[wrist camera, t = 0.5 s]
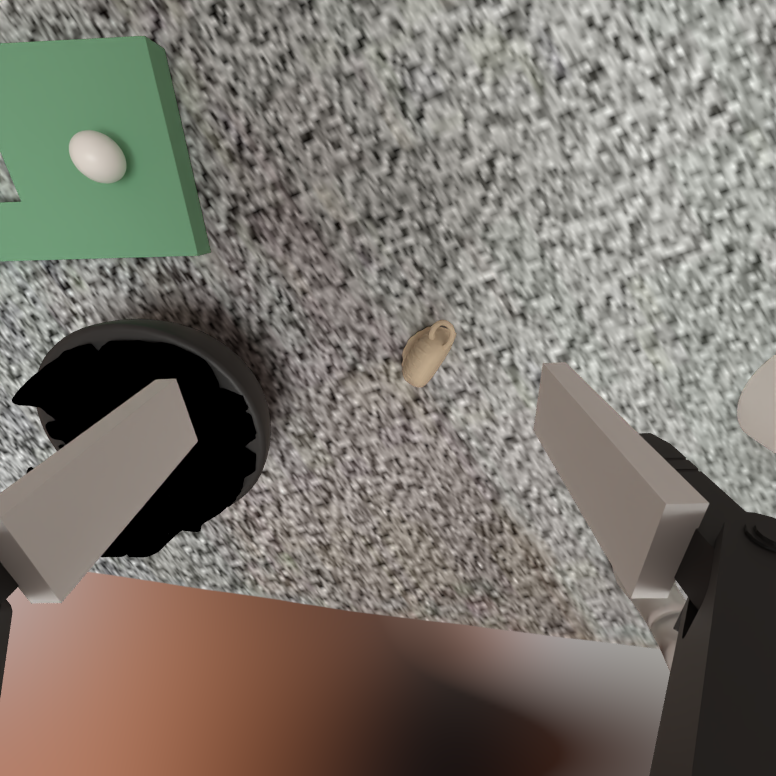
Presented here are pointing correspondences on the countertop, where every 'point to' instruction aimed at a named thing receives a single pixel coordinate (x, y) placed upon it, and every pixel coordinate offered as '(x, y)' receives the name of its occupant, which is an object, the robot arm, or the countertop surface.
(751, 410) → the canister
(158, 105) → the green
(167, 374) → the coal bowl
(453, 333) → the decorative ornament
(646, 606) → the plastic bottle
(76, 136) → the ball
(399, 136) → the countertop surface
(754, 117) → the countertop surface
